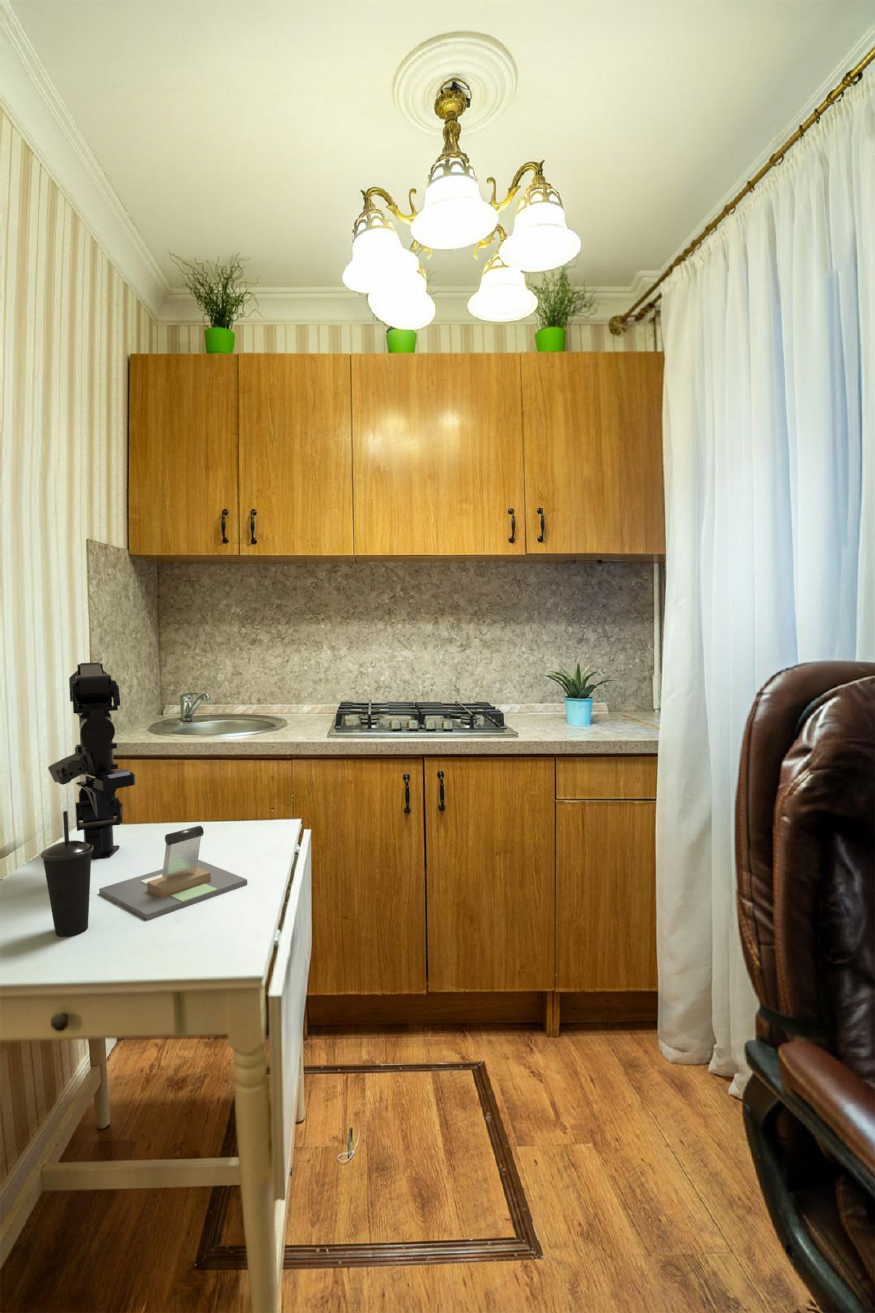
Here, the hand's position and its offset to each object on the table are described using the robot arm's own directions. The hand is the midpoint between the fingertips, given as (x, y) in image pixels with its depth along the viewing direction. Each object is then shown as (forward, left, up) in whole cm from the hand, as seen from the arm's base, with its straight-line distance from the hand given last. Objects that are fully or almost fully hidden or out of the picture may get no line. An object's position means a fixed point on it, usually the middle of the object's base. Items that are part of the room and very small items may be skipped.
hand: (100, 817), depth 141 cm
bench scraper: (+9, +17, -9) cm, 22 cm away
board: (+8, +16, -12) cm, 22 cm away
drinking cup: (+24, +4, -12) cm, 27 cm away
